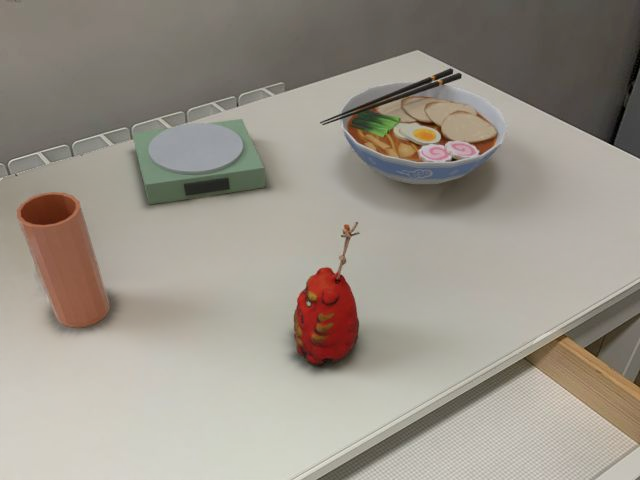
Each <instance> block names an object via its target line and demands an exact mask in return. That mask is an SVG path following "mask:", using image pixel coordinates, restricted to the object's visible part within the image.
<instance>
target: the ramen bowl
mask: <svg viewBox="0 0 640 480" xmlns="http://www.w3.org/2000/svg"><path fill="white" fill-rule="evenodd" d="M462 77H463V74H462V73H460V72H457V73H454V69H453V68H451V67H450V68H447V69H445V70H443V71H441V72H438V73H436V74H433V75H431V76H429V77H426V78H423V79H421V80H418V81H395V82H390V83H383V84H379V85H374V86H369V87H368V88H365V89H363V90H362V91H360V92H358V93H355V94H354V95H352V96H350V97H349V98H348V99H347V100H346V102H345V103H344V105H343V106H342V107H341V108H340V110H339V111H338V113H339V114H336V115H333V116H331V117H329V118H327V119H324V120H321V121H320V122H319V124H322V126H325V125H328V124H330V123H331V124H332V123H333V122H337V121H340V127H341V130H342V132H343V135H344V137H345V139H346V141H347V142H348V144H349V146H350V147H351V149H352V150H353V151H354V152H355V153H356V154H357V156H358V157H359V158H360V159H361V160H362V161H363V162H364V163H365V165H367V167H368V168H369V169H371V170H373V171H375V172H376V173H379V174H381V175H383V176H384V177H386V178H389V179H391V180H393V181H396V182H402V183H406V184H411V185H438V184H442V183H446V182H450V181H455V180H457V179H461V178H463V177H464V176H466V175H468V174H469V173H471V172H472V171H474V170H475V169H476V168H478V167H479V166H481V165H482V164H483V163H485V162H486V161H487V160H488V159H489V158H490V157H492V155H494V153H495V152H497V150H498V149H499V148H500V146H501V145H502V143H504V139H505V137H506V135H507V132H508V129H509V126H508V123H507V121H506V118H505V117H504V114H503V111H501V110H500V109H499V108H498V107H497V106H496V105H494V104H493V103H492V102H490V101H489V100H488V99H486V98H485V97H483V96H482V95H478V94H476V93H473V92H470V91H469V90H465V89H463V88H461V87H458V86H452V85H448V84H449V83H453V82H455V81H458V80H461V79H462Z"/></svg>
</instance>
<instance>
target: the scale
mask: <svg viewBox="0 0 640 480" xmlns="http://www.w3.org/2000/svg"><path fill="white" fill-rule="evenodd" d="M132 137H133V143H134V148H135V152H136V156H137V160H138V164H139V169H140V173H141V177H142V181H143V185H144V189H145V193H146V197H147V202H148V205H156V204H163V203H168V202H169V203H170V202H175V201H176V202H177V201H183V200H189V199H197V198H204V197H210V196H211V197H212V196H217V195H223V194H224V195H225V194H230V193H231V194H232V193H238V192H245V191H252V190H259V189H263V188H266V175H265V166H264V164H263V162H262V160H261V158H260V156H259V153H258V151H257V149H256V147H255V144H254V142H253V140H252V138H251V136H250V134H249V131H248V129H247V127H246V125H245V123H244V120H243V118H239V119H230V120H223V121H222V120H221V121H214V122H207V123H204V122H195V123H193V122H192V123H184V124H179V125H176V126H173V127H168V128H159V129H152V130H144V131H135V132H132Z"/></svg>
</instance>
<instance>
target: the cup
mask: <svg viewBox="0 0 640 480" xmlns="http://www.w3.org/2000/svg"><path fill="white" fill-rule="evenodd" d="M16 219H17V221H18V224H19V226H20V230H21V231H22V234H23V237H24V240H25V241H26V244H27V247H28V249H29V252H30V255H31V257H32V260H33V263H34V265H35V268H36V270H37V272H38V275H39V278H40V281H41V283H42V286H43V288H44V291H45V293H46V296H47V298H48V301H49V303H50V306H51V309H52V311H53V314H54V315H55V318H56V320H57V321H58V322H59V323H60V324H62V325H64V326H66V327H69V328H86V327H91V326H93V325H95V324H97V323H99V322H100V321H102V320H103V319H105V318H106V316H107V315H108V313H109V311H110V301H109V296H108V293H107V290H106V287H105V283H104V280H103V276H102V273H101V270H100V267H99V263H98V259H97V257H96V252H95V249H94V246H93V242H92V241H91V237H90V233H89V230H88V226H87V222H86V219H85V216H84V212H83V209H82V207H81V203H80V201H79V200H78V199H77V198H76V197H75V196H74V195H72V194H69V193H66V192H58V191H52V192H51V191H50V192H44V193H39V194H37V195H34V196H31V197H29V198H28V199H26V200H24V201H23V202H22V203H20V205H19V206H18V208H17V209H16Z"/></svg>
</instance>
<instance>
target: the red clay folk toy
mask: <svg viewBox="0 0 640 480" xmlns="http://www.w3.org/2000/svg"><path fill="white" fill-rule="evenodd" d="M358 224H359V221H355V223H354V224H353V226H352V227H351V228H350V224H343V228H341V230H342V234H341V235H340V237H341V238H345V241H344V246H343V251H342V254H341V255H339V256H338V260H339V261H340V262H339V266H338V268H337V272H336V273H335V272H334V270H333V269H332V268H331V267H328V266H325V267H320V268H318V270H317V271H316V273H315V274H312V275H310V276H309V278H308V279H307V280H306V283H305V288H304V289H303V290H301V292H300V293H299V295H298V297H297V298H296V303H297V304H296V307H295V310H294V313H293V330H294V332H295V333H294V340H295V342H296V350H297V353H298V355H301V356H302V357H303V358H304V359H305V360H306V362H307V363H308V364H309V365H312V366H320V365H321V364H324V363H325V362H327V363H329V364H330V363H335V362H338V361H340V360H342V359H343V358H345V357H346V356H347V355H348V354H349V353H350V352H351V350H352V348H353V346H354V345H356V343H357V342H358V339H359V332H360V331H359V330H360V320H359V317H358V310H357V303H356V299H355V296H354V293H353V291H352V288H351V286H350V284H349V283H348V281H347V280H346V278H345V276H344V275H343V274H341V272H342V268H343V266H344V265H345V264H346V263H347V258H346V252H347V250H348V246H349V243H350V240H351V238H352V237H354V236H357V235H361V233H360V232H359V231H356V232H354V231H355V230H356V228H357V226H358ZM353 232H354V233H353Z"/></svg>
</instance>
